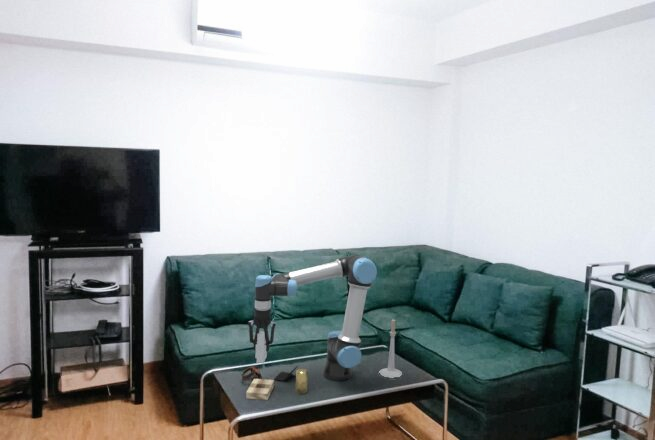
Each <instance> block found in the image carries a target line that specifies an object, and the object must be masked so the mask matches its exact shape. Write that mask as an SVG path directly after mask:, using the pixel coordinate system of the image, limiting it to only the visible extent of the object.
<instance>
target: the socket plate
mask: <svg viewBox="0 0 655 440" xmlns="http://www.w3.org/2000/svg"><path fill="white" fill-rule="evenodd" d="M274 386H275V381H274V379H266V378H264V379H263V378H262V379H258V378H253V380H251V383H250V385H249V387H248V389H247V390H246V393H245V399H247V400H261V401H268V400H269V398H270V395H271V393H272V391H273V389H274Z"/></svg>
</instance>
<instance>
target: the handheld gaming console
mask: <svg viewBox="0 0 655 440" xmlns="http://www.w3.org/2000/svg"><path fill="white" fill-rule="evenodd" d="M297 368H298V365H297V366H296V367H294V368H293V370H291V371H290V372H288V371H287V372H286V371H281V372H279V373H278V374H277V375H276V376H275V377H273V380H274V382H280V383H286V381H287V380H288V379H290V377H291V376H292V375H293V373H294V371H296V370H297Z"/></svg>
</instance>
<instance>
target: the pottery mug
mask: <svg viewBox="0 0 655 440" xmlns="http://www.w3.org/2000/svg"><path fill="white" fill-rule="evenodd" d="M249 371H250V373H248V372H249ZM246 373H248V374H246ZM252 378H257V379H263V376H262V374H261V372H260V369H259V368H258V366H257V365H253V366H249V367H247V368H246V369H244V370H242V373H241V381H242V382H245V381H252Z"/></svg>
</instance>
